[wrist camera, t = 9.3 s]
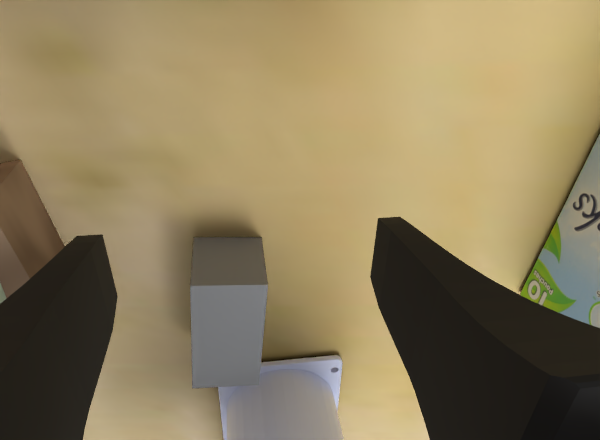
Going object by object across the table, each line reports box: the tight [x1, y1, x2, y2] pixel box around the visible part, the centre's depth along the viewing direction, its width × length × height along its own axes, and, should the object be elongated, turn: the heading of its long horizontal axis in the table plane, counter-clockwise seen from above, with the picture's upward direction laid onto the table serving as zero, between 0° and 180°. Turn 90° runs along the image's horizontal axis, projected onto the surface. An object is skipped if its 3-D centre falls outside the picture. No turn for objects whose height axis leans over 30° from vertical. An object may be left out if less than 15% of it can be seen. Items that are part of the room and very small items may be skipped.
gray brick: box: [190, 237, 268, 388], centre depth 25 cm, size 7×4×4 cm, turn 174°
